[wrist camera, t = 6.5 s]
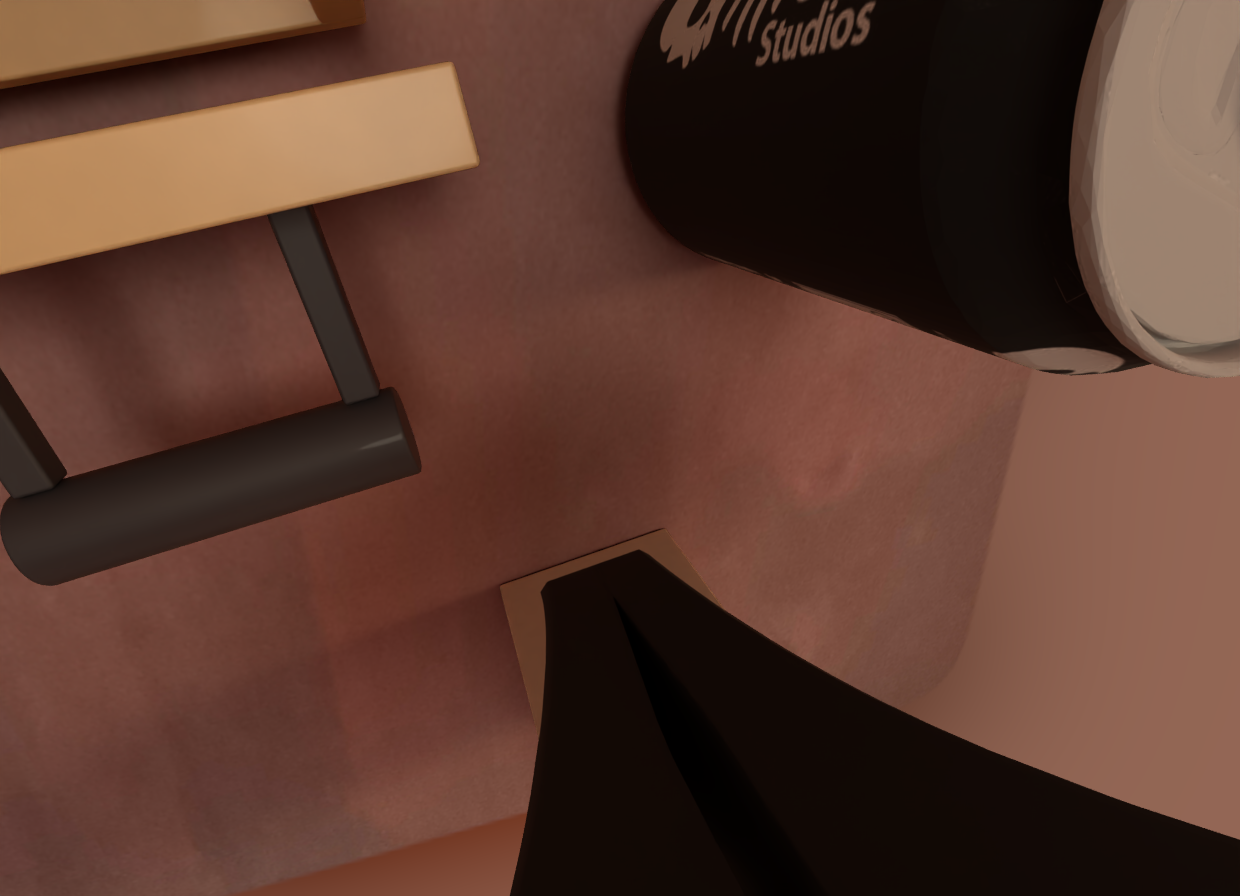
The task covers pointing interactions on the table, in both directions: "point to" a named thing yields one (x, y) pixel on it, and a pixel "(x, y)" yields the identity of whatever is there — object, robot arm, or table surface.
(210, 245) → the table surface
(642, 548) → the pedestal
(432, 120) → the drawer
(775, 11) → the beverage can
